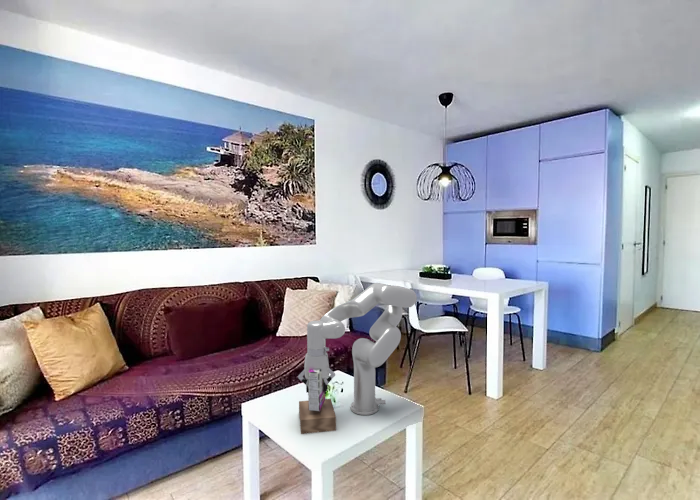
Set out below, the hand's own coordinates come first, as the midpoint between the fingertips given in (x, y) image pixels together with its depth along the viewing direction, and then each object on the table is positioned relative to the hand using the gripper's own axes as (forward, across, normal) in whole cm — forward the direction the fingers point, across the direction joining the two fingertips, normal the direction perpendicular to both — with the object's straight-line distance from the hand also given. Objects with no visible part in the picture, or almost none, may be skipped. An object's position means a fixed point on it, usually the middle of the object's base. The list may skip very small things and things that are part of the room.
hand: (316, 392), depth 155 cm
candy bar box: (+5, 0, 0) cm, 5 cm away
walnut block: (+13, 0, 0) cm, 13 cm away
